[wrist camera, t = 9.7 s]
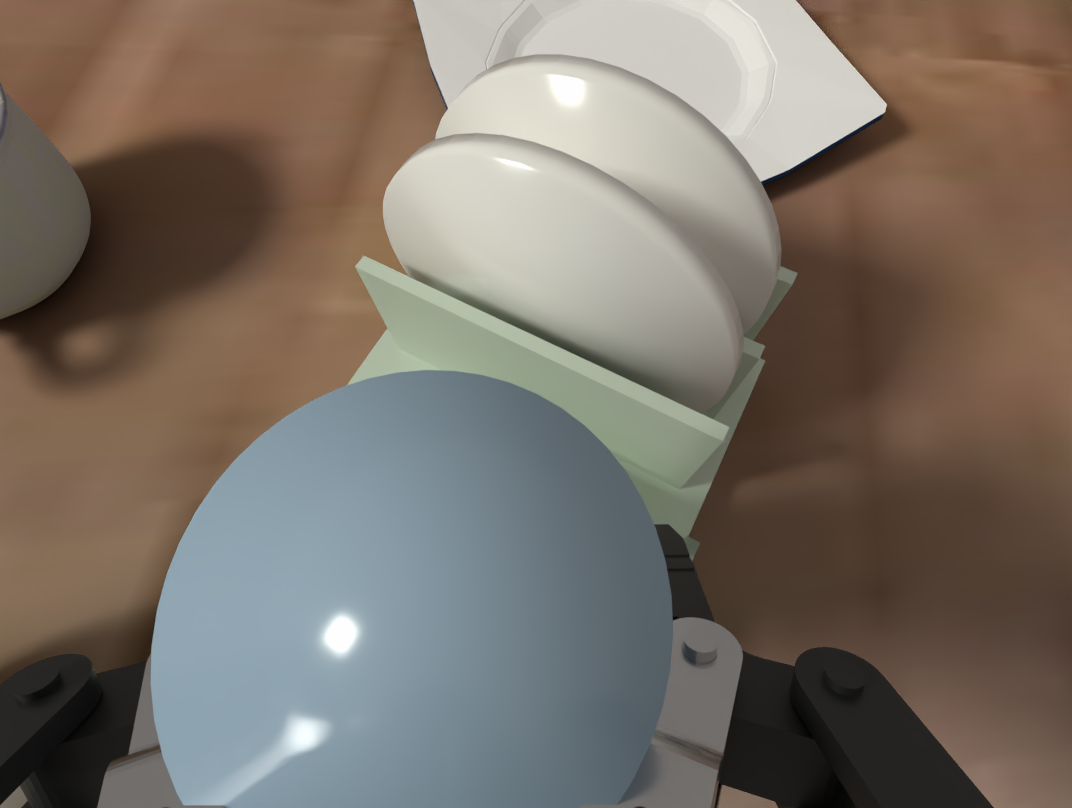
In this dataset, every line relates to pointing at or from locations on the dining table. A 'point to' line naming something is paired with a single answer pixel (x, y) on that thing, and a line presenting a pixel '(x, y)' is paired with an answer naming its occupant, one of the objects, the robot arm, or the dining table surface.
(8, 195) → the teacup
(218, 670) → the dome-topped blue cylinder
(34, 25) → the dining table surface
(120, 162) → the dining table surface
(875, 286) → the dining table surface
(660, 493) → the rack
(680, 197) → the racked plates
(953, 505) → the dining table surface
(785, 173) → the plate
